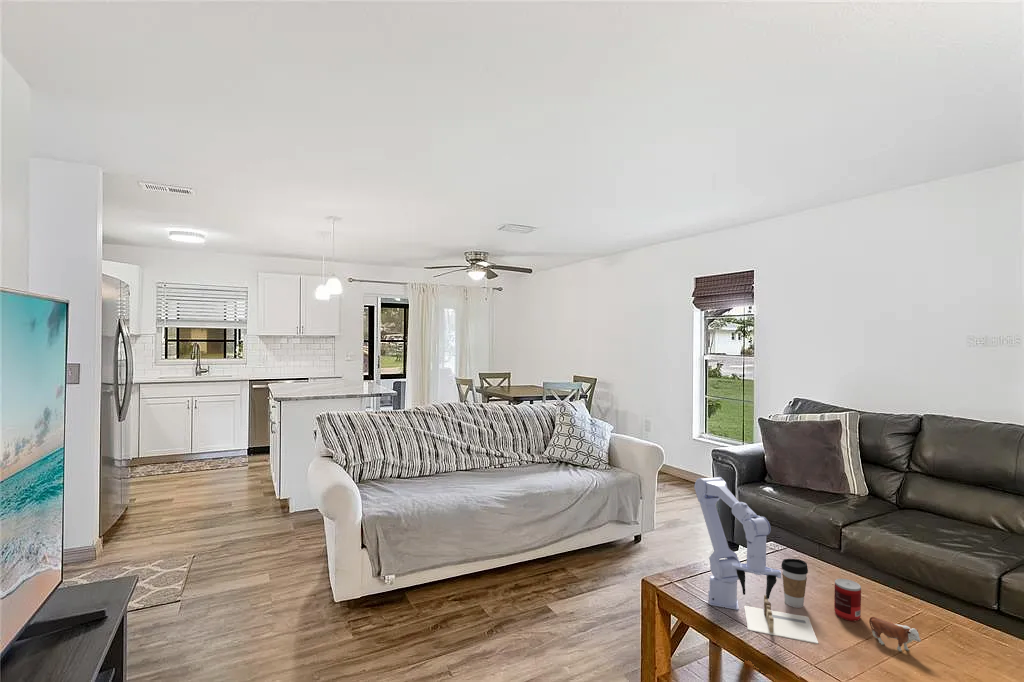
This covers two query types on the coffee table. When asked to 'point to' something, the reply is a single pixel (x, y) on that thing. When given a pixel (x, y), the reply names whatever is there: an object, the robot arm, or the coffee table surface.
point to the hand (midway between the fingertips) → (755, 595)
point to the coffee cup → (794, 581)
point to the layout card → (780, 624)
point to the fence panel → (769, 618)
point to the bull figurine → (893, 632)
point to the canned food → (847, 599)
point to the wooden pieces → (766, 604)
